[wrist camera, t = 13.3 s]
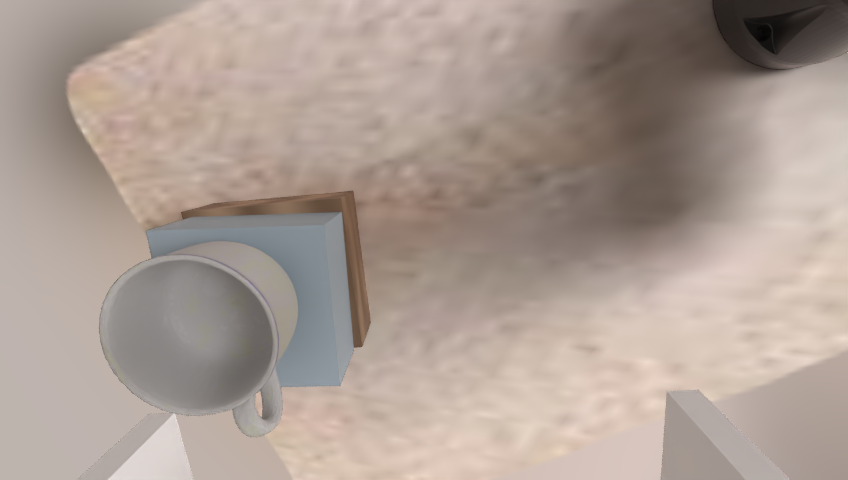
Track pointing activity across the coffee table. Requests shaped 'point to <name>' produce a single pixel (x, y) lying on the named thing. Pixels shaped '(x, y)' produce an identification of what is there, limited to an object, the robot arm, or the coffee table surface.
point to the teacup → (203, 332)
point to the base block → (314, 205)
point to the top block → (309, 273)
